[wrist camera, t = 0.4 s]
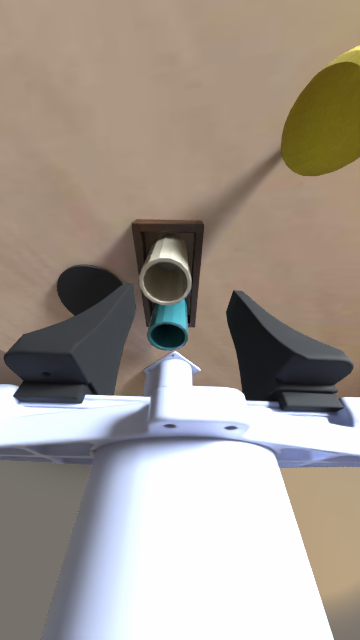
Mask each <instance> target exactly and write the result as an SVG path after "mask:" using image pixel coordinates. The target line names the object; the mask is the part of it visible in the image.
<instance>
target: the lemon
mask: <svg viewBox="0 0 360 640" xmlns="http://www.w3.org/2000/svg"><path fill="white" fill-rule="evenodd" d="M281 150H282V156H283V159H284V161H285V163H286V165H287V166H288V167H289V168H290V169H291V170H292V171H293V172H295V173H297V174H300V175H302V176H319V175H323V174H327V173H330V172H333V171H336V170H338V169H340V168H342V167H344V166H346V165H348V164H350V163H351V162H353V161H355V160H356V159H358V158H359V157H360V46H357V47H355V48H354V49H352V50H350V51H348V52H346V53H344V54H342V55H340V56H339V57H337V58H335V59H334V60H333V61H332V62H330V63H329V64H328V65H327V66H326V67H325V68H323V69H322V70H321V71H320V72H319V73H318V74H317V75H316V76H315V77H314V78H313V79H312V80H311V81H310V82H309V84H308V85H307V86H306V87H305V89H304V90H303V91H302V92H301V94H300V95H299V97H298V98H297V100H296V102H295V103H294V105H293V107H292V109H291V110H290V112H289V115H288V117H287V120H286V122H285V125H284V129H283V134H282V141H281Z"/></svg>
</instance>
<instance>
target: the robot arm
mask: <svg viewBox="0 0 360 640" xmlns="http://www.w3.org/2000/svg"><path fill="white" fill-rule="evenodd" d="M135 309H136V303H135V296H134V288H133V284H128V283H124V284H122V285H121V286H120V287H119V288H117V289H116V290H115V291H114V292H112V293H111V294H110V295H109V296H107V297H106V298H104V299H103V300H102V301H100V302H99V303H97V304H96V305H94V306H93V307H91V308H89V309H88V310H86V311H84V312H82V313H80V314H78V315H76V316H74V317H72V318H69V319H67V320H65V321H62V322H60V323H57V324H55V325H52V326H49V327H46V328H43V329H40V330H37V331H33V332H30V333H26V334H23V335H22V336H21V337H20V338H19V340H18V341H17V342H16V343H15V344H14V345H13V346H12V347H11V348H10V349H9V351H8V352H7V353H6V354H5V355H4V361H5V364H6V365H7V366H8V367H9V368H10V369H11V370H12V371H14V373H16V374H17V375H18V376H19V377H20V378H21V379H22V380H24V381H23V382H22V384H21V385H20V386H19V387H18V386H15V385H11V384H0V460H11V461H31V462H48V463H63V464H78V465H79V464H80V465H92V466H91V469H90V473H89V476H88V479H87V483H86V486H85V489H84V493H83V496H82V500H81V503H80V506H79V510H78V513H77V516H76V520H75V523H74V527H73V530H72V534H71V537H70V540H69V544H68V547H67V550H66V554H65V557H64V560H63V564H62V567H61V571H60V574H59V577H58V581H57V585H56V588H55V591H54V594H53V598H52V601H51V604H50V608H49V611H48V614H47V618H46V622H45V625H44V628H43V631H42V635H41V638H40V640H334V639H333V636H332V633H331V630H330V627H329V624H328V620H327V617H326V614H325V611H324V608H323V605H322V602H321V598H320V595H319V592H318V589H317V586H316V583H315V580H314V576H313V573H312V570H311V567H310V564H309V561H308V558H307V554H306V552H305V549H304V545H303V542H302V539H301V536H300V532H299V529H298V526H297V523H296V520H295V517H294V514H293V511H292V508H291V504H290V501H289V498H288V495H287V492H286V489H285V486H284V482H283V479H282V476H281V473H280V470H279V468H298V467H299V468H301V467H360V398H352V397H343V398H339V399H338V398H337V396H336V395H335V393H337V392H338V390H337V388H336V387H335V385H334V384H336V383H337V382H339V381H340V380H342V379H343V378H344V377H346V376H347V375H348V374H350V373H351V371H352V370H353V363H352V362H351V361H350V360H349V358H348V357H347V356H346V355H345V353H344V352H343V351H342V350H339V349H337V348H334V347H331V346H329V345H326V344H324V343H321V342H319V341H317V340H314V339H312V338H310V337H308V336H306V335H304V334H302V333H300V332H298V331H296V330H294V329H292V328H290V327H289V326H287V325H285V324H284V323H282V322H281V321H279V320H278V319H276V318H275V317H273V316H272V315H271V314H269V313H268V312H267V311H265V310H264V309H263V308H262V307H260V306H259V305H258V304H257V303H256V302H254V301H253V300H252V299H251V298H250V297H249V296H248V295H246V294H245V293H244V292H243V291H235V290H233V293H232V296H231V299H230V302H229V305H228V308H227V311H226V315H227V322H228V326H229V329H230V333H231V336H232V339H233V342H234V346H235V349H236V353H237V358H238V364H239V370H240V376H241V384H242V393H241V392H240V391H238V390H237V389H233V388H227V387H206V386H192V375H194V374H196V373H198V372H200V368H198V367H197V366H195V365H194V364H193V363H191V362H190V361H189V360H187V359H186V358H184V357H183V356H182V355H180V354H179V353H177V352H172V353H170V354H169V355H167V356H166V357H164V358H162V359H161V360H159V361H157V362H156V363H154V364H152V365H151V366H149V367H148V368H146V369H144V370H143V373H145V374H146V378H145V383H144V389H143V394H142V397H132V396H114V391H115V385H116V380H117V375H118V369H119V365H120V360H121V356H122V351H123V347H124V344H125V341H126V338H127V335H128V333H129V330H130V327H131V324H132V321H133V319H134V314H135Z"/></svg>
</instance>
